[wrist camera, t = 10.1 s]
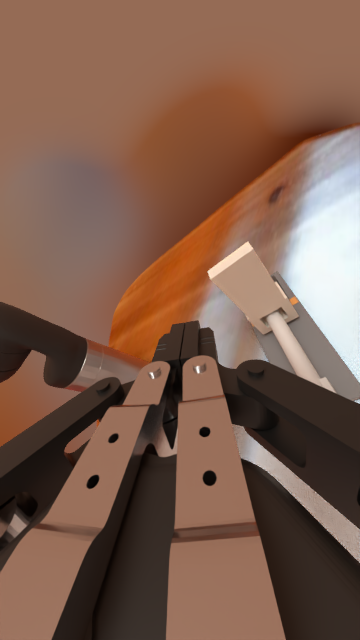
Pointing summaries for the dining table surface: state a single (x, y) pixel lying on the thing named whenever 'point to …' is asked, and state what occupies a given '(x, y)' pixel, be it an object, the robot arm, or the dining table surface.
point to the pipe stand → (306, 350)
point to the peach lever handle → (252, 287)
